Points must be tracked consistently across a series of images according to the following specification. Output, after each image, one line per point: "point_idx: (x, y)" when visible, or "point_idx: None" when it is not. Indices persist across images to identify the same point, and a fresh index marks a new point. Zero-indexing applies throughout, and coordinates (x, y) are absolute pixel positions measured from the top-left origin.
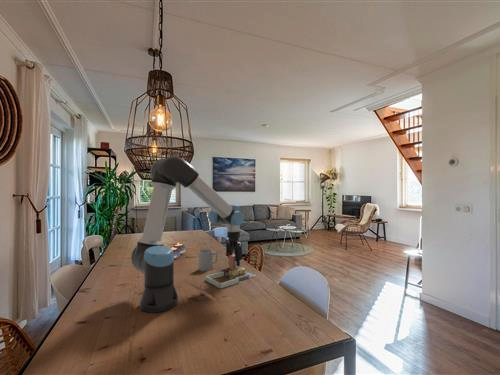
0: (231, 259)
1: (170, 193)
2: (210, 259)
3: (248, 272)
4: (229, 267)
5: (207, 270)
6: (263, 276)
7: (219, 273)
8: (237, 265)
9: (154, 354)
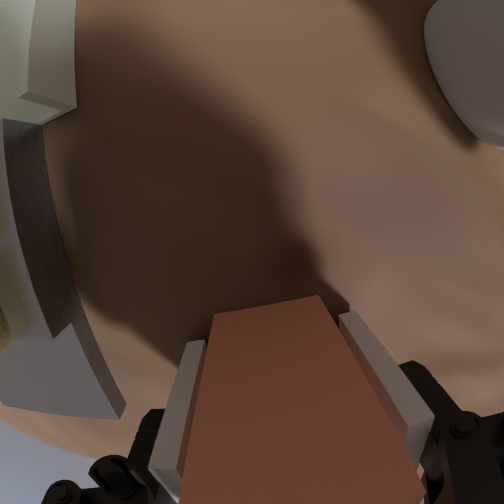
0: (259, 451)
1: None
2: None
3: (66, 409)
4: (316, 318)
5: (426, 34)
6: (31, 433)
7: (26, 39)
8: (152, 417)
9: None
